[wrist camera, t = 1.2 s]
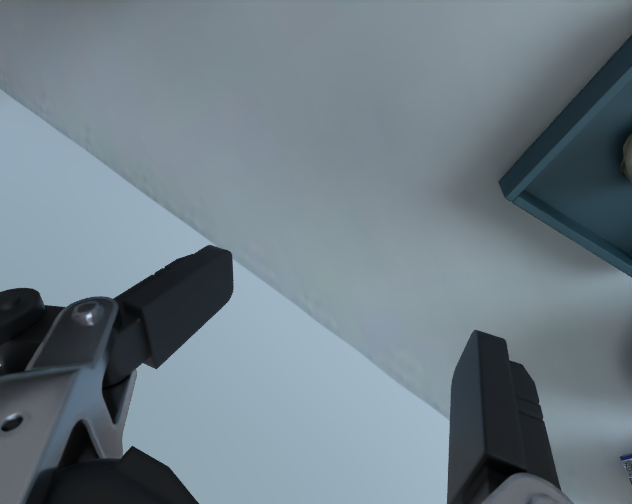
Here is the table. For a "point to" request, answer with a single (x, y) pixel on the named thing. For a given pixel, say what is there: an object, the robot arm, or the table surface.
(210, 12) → the table surface
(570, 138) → the box
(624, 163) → the cream rounded oblong block
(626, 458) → the beverage box
